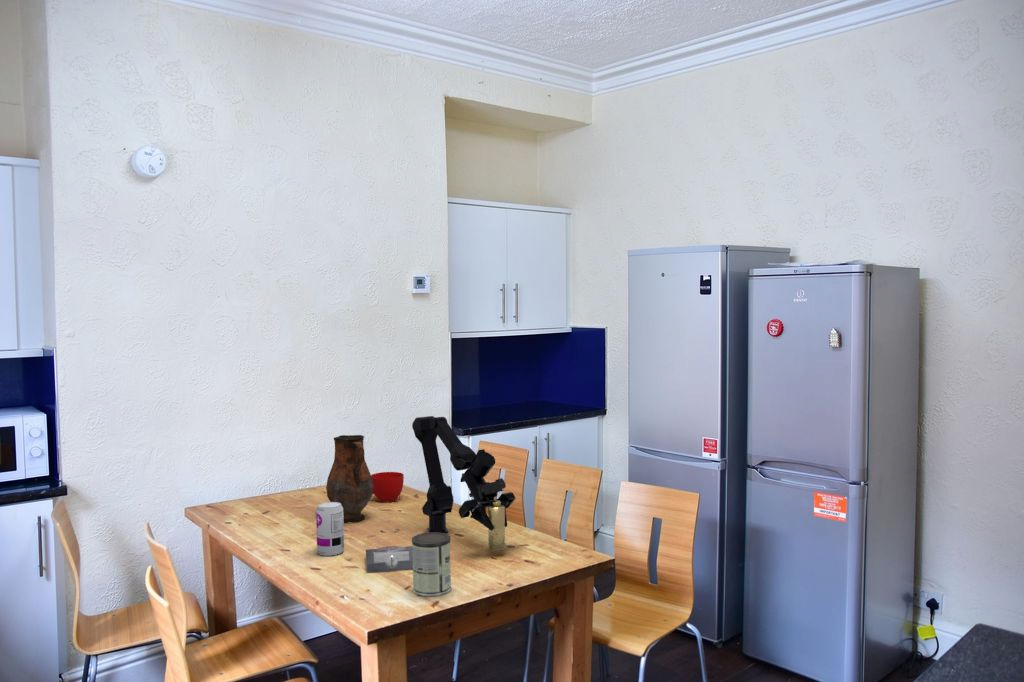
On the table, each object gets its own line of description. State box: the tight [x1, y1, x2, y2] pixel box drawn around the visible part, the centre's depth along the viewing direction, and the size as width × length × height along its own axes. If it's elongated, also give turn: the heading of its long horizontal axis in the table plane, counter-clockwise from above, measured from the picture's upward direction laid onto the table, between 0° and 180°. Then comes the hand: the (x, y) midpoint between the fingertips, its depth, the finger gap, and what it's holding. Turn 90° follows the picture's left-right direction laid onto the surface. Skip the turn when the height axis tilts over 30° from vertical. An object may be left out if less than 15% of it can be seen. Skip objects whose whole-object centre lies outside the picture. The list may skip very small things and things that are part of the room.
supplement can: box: [315, 501, 345, 557], centre depth 242 cm, size 8×8×15 cm
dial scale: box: [365, 545, 413, 573], centre depth 231 cm, size 14×14×4 cm
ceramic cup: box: [371, 471, 405, 503], centre depth 308 cm, size 13×17×10 cm
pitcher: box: [325, 434, 373, 523], centre depth 279 cm, size 17×21×30 cm
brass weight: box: [487, 500, 506, 552], centre depth 238 cm, size 5×5×15 cm
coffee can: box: [411, 532, 452, 597], centre depth 208 cm, size 10×10×14 cm
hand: (499, 528), depth 237 cm, fingers closed on brass weight, 5 cm apart
